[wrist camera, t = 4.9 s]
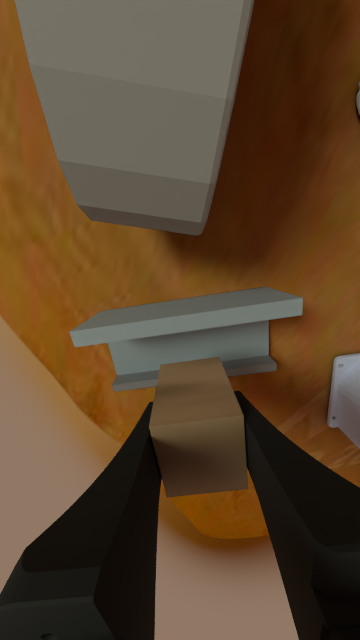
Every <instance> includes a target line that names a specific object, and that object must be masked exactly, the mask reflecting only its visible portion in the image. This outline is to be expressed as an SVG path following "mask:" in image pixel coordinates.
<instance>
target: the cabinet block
mask: <svg viewBox="0 0 360 640" xmlns="http://www.w3.org/2000/svg"><path fill="white" fill-rule="evenodd" d="M149 429H150V433H151V437H152V441H153V445H154V449H155V453H156V457H157V461H158V464H159V468H160V472H161V476H162V480H163V484H164V488H165V492H166V496H167V497H174V496H184V495H193V494H203V493H213V492H222V491H232V490H241V489H248V480H247V464H246V448H245V431H244V415H243V413H242V411H241V408H240V406H239V403H238V401H237V399H236V396H235V394H234V391H233V389H232V387H231V384H230V382H229V379H228V377H227V375H226V372H225V370H224V367H223V365H222V363H221V360H220V358H219V357H214V358H206V359H199V360H192V361H184V362H177V363H169V364H162V365H160V370H159V375H158V380H157V386H156V391H155V397H154V402H153V407H152V413H151V418H150V423H149Z"/></svg>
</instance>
